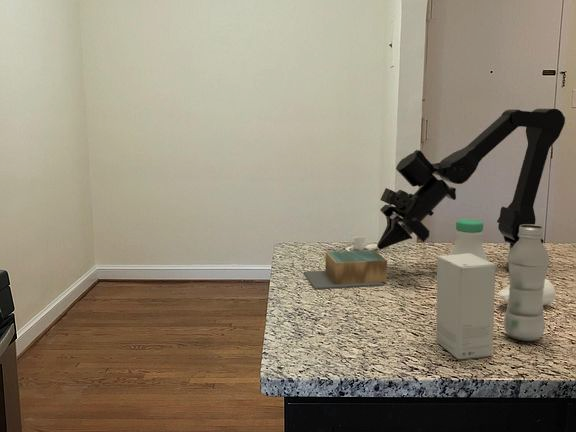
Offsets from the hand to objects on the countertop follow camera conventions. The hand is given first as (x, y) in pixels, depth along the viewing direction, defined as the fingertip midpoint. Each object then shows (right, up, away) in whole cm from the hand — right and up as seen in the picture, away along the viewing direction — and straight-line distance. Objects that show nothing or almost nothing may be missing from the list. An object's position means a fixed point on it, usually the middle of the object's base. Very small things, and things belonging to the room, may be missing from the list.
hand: (378, 247), depth 137 cm
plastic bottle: (+20, -14, -35) cm, 42 cm away
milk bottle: (+11, -13, -30) cm, 34 cm away
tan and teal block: (0, -4, +1) cm, 4 cm away
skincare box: (+8, -15, -39) cm, 43 cm away
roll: (+26, -11, -19) cm, 34 cm away
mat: (-9, -7, 0) cm, 11 cm away
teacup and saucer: (0, -3, +25) cm, 25 cm away
